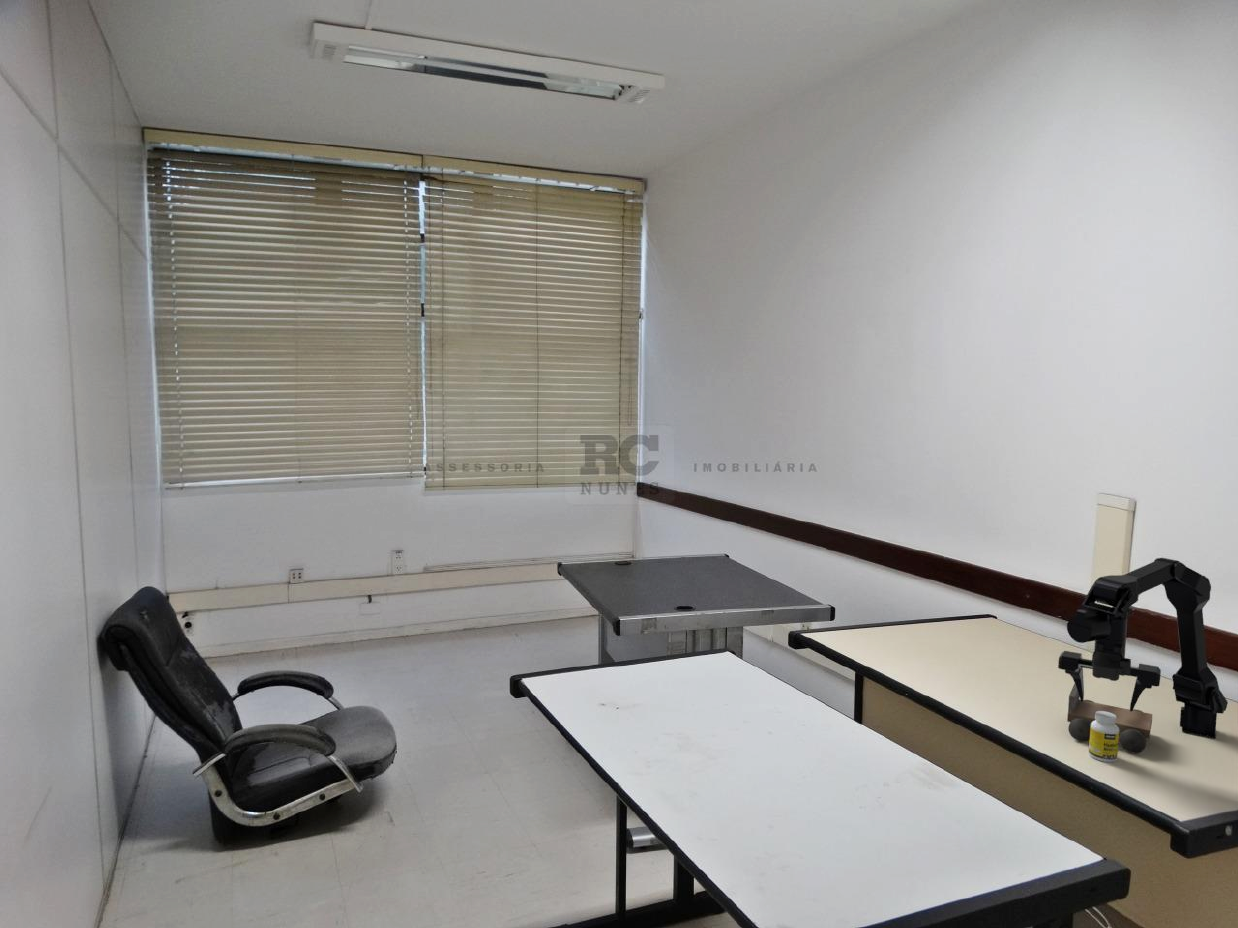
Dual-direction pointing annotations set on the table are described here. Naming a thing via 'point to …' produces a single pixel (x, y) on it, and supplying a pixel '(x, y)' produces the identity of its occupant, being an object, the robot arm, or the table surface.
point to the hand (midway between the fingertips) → (1106, 705)
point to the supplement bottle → (1104, 737)
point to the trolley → (1129, 723)
